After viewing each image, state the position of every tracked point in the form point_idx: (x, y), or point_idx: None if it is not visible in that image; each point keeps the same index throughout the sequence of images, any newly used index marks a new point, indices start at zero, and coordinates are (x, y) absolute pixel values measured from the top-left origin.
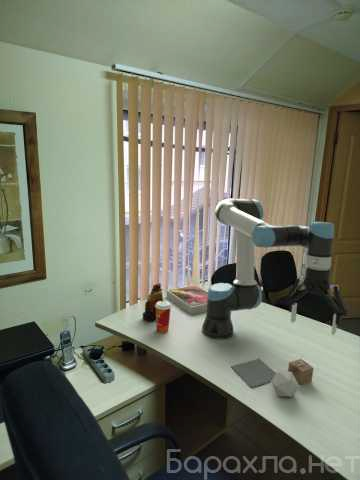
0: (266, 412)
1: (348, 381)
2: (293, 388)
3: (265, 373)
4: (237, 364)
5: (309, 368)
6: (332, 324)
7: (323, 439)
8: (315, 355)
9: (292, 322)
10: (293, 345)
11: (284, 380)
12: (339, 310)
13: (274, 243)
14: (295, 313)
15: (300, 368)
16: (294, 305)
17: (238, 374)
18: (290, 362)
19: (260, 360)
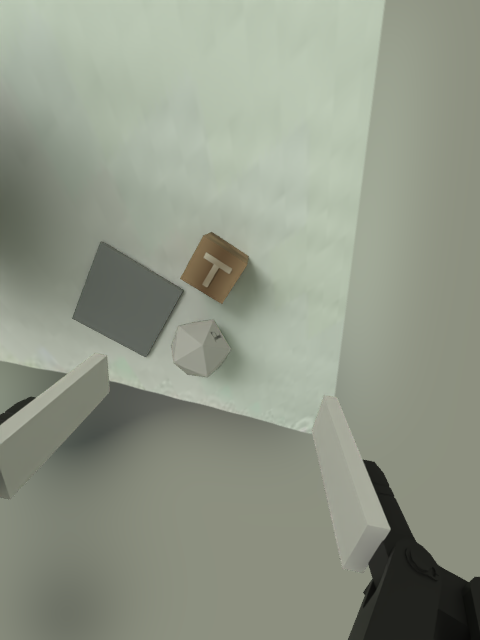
0: (196, 394)
1: (342, 185)
2: (221, 362)
3: (146, 297)
4: (78, 303)
5: (237, 276)
6: (324, 483)
7: (288, 400)
8: (234, 69)
9: (107, 392)
10: (143, 40)
11: (198, 375)
12: (423, 605)
13: None
14: (72, 397)
15: (216, 291)
16: (10, 493)
17: (103, 333)
18: (183, 278)
19: (108, 249)
